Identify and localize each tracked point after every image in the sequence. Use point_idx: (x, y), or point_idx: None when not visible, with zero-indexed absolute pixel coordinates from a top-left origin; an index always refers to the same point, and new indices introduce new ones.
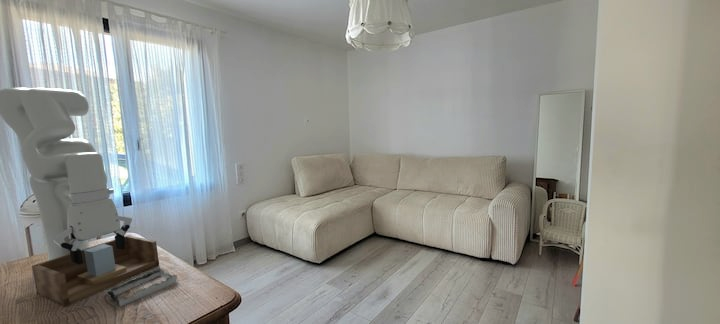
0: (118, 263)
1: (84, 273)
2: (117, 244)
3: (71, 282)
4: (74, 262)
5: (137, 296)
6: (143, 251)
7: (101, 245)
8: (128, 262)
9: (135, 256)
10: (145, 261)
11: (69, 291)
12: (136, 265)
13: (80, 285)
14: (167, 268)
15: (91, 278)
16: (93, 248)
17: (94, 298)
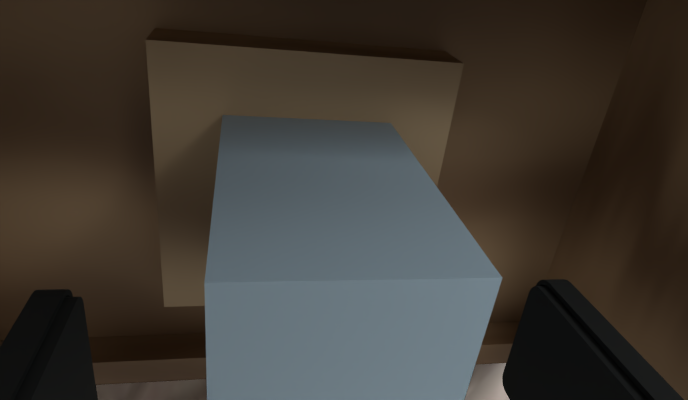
0: (523, 19)
1: (208, 66)
2: (554, 357)
3: (103, 6)
4: (38, 295)
5: None
6: (623, 285)
7: (440, 315)
8: (547, 103)
9: (630, 109)
10: (563, 236)
11: (33, 199)
12: (500, 231)
13: (124, 174)
14: (503, 396)
15: (184, 258)
16: (315, 332)
17: (120, 387)
